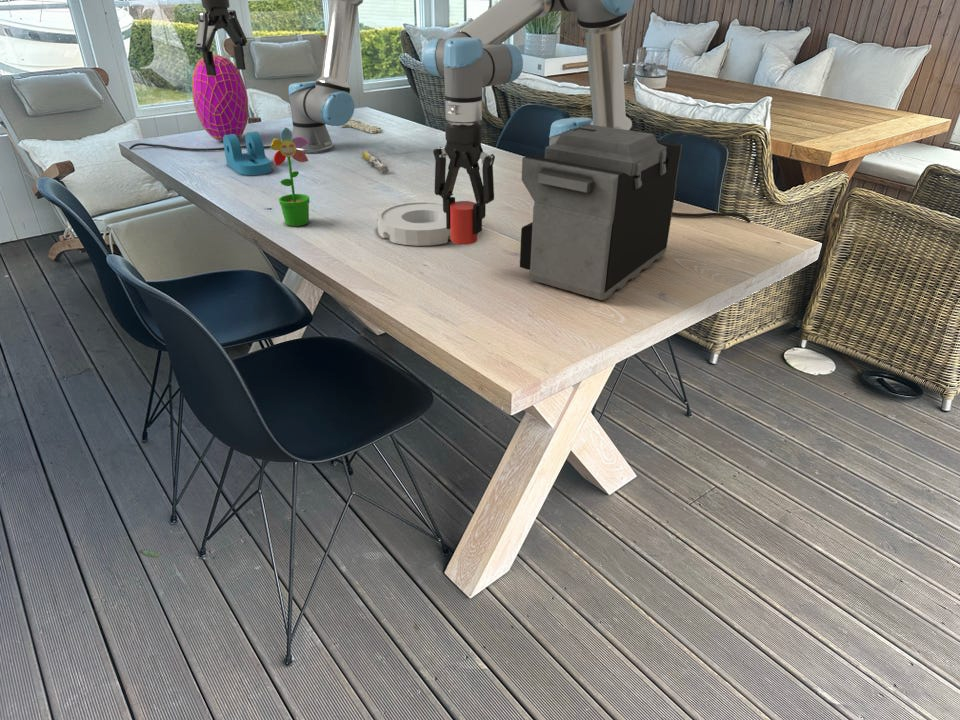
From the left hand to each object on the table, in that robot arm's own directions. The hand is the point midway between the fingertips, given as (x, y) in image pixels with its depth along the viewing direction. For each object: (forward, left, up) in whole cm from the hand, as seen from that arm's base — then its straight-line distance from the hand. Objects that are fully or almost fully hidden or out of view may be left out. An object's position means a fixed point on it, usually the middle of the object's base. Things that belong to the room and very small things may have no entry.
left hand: (226, 72), depth 207 cm
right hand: (+96, -46, -21) cm, 109 cm away
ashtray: (+76, -25, -31) cm, 86 cm away
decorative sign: (-1, +77, -31) cm, 83 cm away
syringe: (+33, +27, -31) cm, 53 cm away
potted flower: (+43, -33, -31) cm, 62 cm away
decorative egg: (-35, +36, -31) cm, 59 cm away
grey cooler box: (+123, -32, -31) cm, 131 cm away
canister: (+96, -46, -23) cm, 109 cm away
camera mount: (-2, +7, -31) cm, 32 cm away
